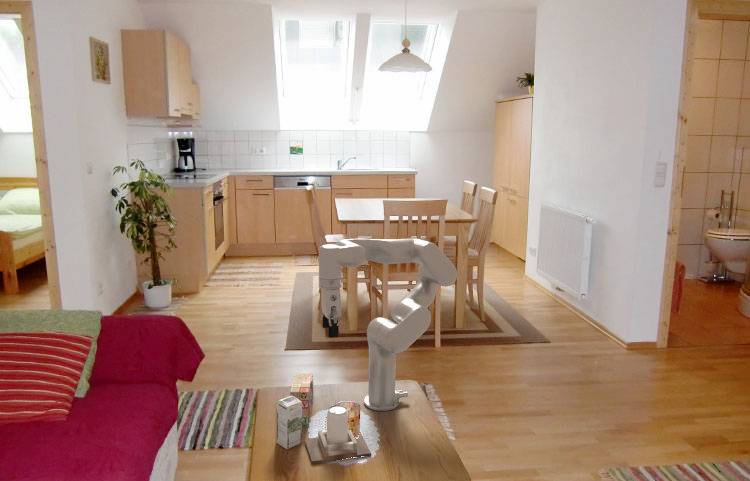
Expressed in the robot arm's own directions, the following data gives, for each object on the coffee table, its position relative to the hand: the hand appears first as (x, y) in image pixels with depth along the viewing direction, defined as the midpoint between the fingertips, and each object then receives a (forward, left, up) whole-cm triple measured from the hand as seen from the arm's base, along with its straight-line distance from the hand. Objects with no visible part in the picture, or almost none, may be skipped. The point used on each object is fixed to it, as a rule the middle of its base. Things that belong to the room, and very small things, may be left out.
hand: (330, 332), depth 193 cm
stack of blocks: (+8, -7, -31) cm, 32 cm away
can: (+2, +21, -29) cm, 36 cm away
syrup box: (+16, +14, -31) cm, 37 cm away
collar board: (+2, +21, -30) cm, 37 cm away
